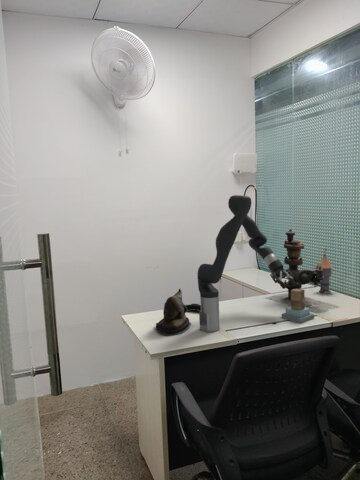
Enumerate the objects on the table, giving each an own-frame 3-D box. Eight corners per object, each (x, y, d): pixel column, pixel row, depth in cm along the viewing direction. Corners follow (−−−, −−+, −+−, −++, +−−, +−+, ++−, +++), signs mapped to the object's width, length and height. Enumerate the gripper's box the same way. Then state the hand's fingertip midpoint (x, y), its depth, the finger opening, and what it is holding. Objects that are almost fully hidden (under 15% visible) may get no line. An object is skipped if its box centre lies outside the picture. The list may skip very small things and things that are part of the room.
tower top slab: (300, 317, 199) (300, 312, 199) (285, 314, 206) (285, 308, 206) (309, 313, 205) (309, 308, 205) (295, 310, 212) (295, 305, 212)
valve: (341, 307, 223) (343, 230, 218) (318, 313, 212) (319, 232, 208) (286, 293, 258) (286, 227, 254) (264, 298, 248) (264, 228, 243)
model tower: (312, 291, 258) (312, 247, 255) (326, 289, 261) (326, 246, 258) (321, 295, 249) (322, 249, 246) (336, 293, 252) (336, 248, 249)
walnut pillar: (299, 310, 202) (298, 291, 201) (291, 308, 206) (290, 290, 205) (304, 308, 205) (304, 289, 204) (296, 306, 209) (296, 288, 208)
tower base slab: (300, 324, 197) (300, 319, 197) (281, 319, 207) (281, 313, 207) (314, 319, 204) (314, 314, 204) (295, 314, 214) (295, 309, 214)
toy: (166, 313, 230) (212, 315, 216) (165, 304, 229) (211, 305, 216) (172, 309, 237) (217, 311, 223) (171, 300, 236) (216, 301, 223)
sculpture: (173, 318, 212) (176, 285, 207) (199, 331, 201) (203, 295, 196) (143, 331, 195) (147, 294, 190) (170, 345, 184) (174, 307, 179)
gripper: (268, 260, 209) (285, 284, 201) (285, 257, 217) (302, 280, 209) (261, 269, 214) (277, 292, 206) (278, 265, 222) (294, 288, 214)
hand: (289, 286), depth 208 cm, fingers open, 8 cm apart
